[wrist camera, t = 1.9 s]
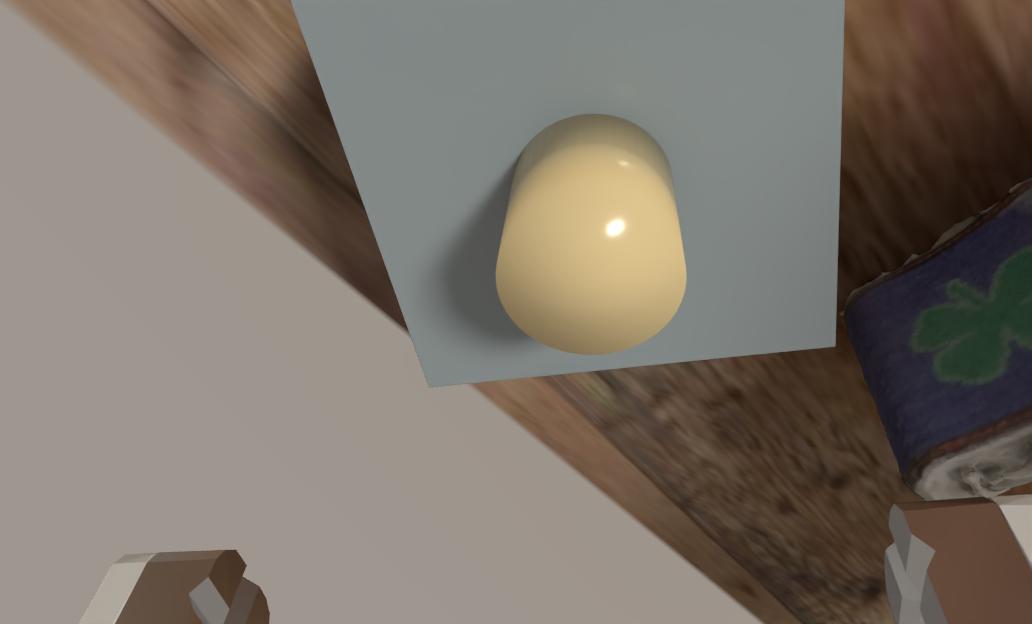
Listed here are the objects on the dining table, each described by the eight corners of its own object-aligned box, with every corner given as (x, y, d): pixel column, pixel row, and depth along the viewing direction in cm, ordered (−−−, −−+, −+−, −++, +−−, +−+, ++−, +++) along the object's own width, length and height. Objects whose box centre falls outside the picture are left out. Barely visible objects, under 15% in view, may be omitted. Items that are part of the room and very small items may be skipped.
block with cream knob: (823, -140, 15) (911, -78, 11) (818, 298, 21) (874, 454, 17) (316, -34, 17) (217, 54, 13) (440, 341, 23) (402, 490, 19)
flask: (1070, 147, 26) (1292, 359, 18) (1111, 204, 28) (1340, 430, 19) (825, 303, 31) (909, 533, 22) (868, 347, 32) (965, 582, 24)
